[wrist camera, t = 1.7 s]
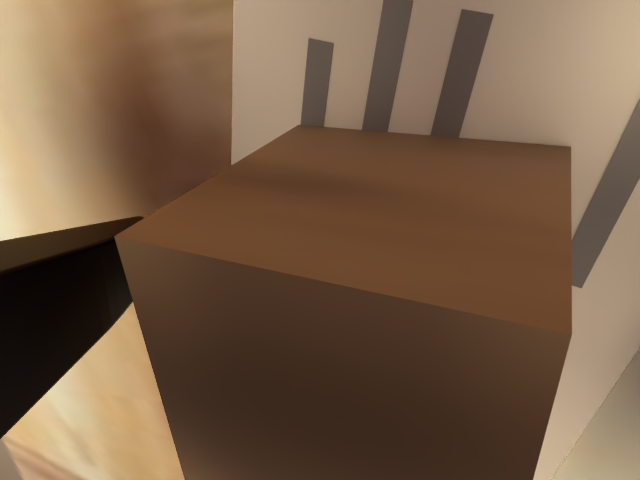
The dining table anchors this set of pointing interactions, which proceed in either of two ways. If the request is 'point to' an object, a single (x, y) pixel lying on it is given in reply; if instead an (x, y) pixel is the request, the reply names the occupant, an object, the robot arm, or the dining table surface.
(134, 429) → the dining table surface
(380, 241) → the walnut block
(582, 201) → the letter
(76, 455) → the dining table surface
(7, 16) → the dining table surface
